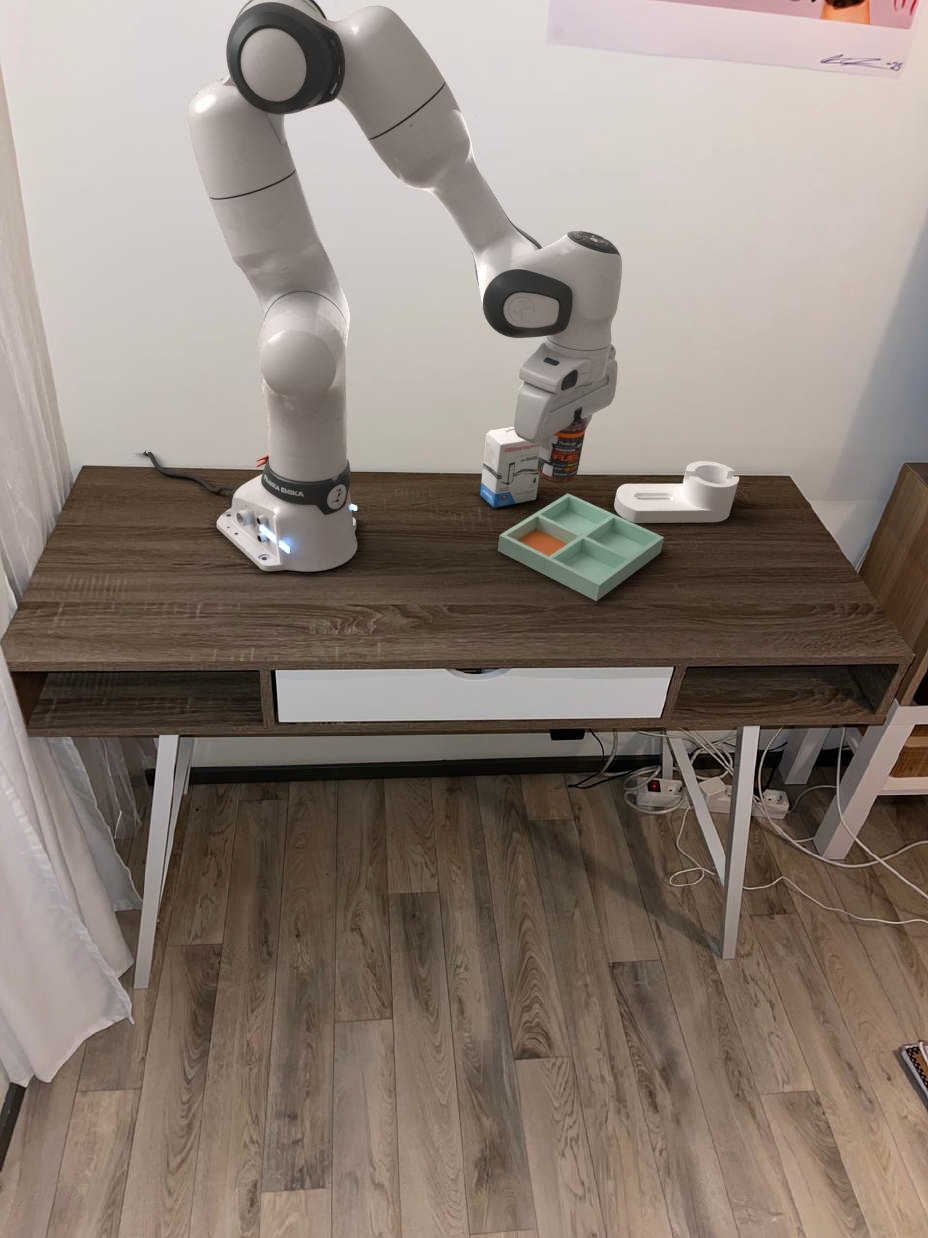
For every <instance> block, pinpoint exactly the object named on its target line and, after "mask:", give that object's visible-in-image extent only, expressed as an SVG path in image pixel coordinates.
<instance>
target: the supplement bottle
mask: <svg viewBox="0 0 928 1238" xmlns="http://www.w3.org/2000/svg"><path fill="white" fill-rule="evenodd" d="M581 414H582V407H580V408H578V409H576V410H575V412H574V420H573V422H572V423H571V424H570V425H569V426H568V427H567V428H565V429H563V430H561V431H559V432H557V433H555V434H554V438H553V439H552V440H551V443H552V446H555V447H556V448H555V452H554V454H555V455H554V457H552V458H550V459H549V460H544V459H542V458H540V457H539V459H538V467H537V471H538V474H539V477H541V478H543V479H544V480H545V481H547V482H551V483H556V484H566V483H570V482H572V481H574V480H575V479H576V478H577V476H578V472H579V467H580V465H581V464H580V461H581V455H582V451H583V446H584V441H585V433H586V430H587V428H586V422H585V420H584V419H582V418H581ZM585 429H586V430H585Z"/></svg>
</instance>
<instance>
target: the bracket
mask: <svg viewBox="0 0 928 1238" xmlns="http://www.w3.org/2000/svg"><path fill="white" fill-rule="evenodd" d="M735 473H736V470H734V469H733V468H732V467H730V466H728V465H725V464H723V463H719V462H715V461H710V460H699V461H693V462H691V463H689V464H688V465H687V466H686V468H685V472H684V476H683V480H682V483H624V484H622V485H620V486H619V487H618V488H617V490H616V492H615V498H614V503H613V508H614V510H615V511H616V513H617V514H618V515H619V517H621V518H623V519H625V520H627V521H629V522H631V523H634V524H661V523H663V524H668V523H669V524H670V523H672V524H673V523H674V524H676V523H677V524H678V523H681V524H682V523H683V524H684V523H719V522H723V521H725V520H727V519H728V518H729V516H730V514H731V509H732V506H733V502H734V499H735V496H736V492H737V488H738V484H739V481H740V476H739V475H738V476H735Z"/></svg>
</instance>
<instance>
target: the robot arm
mask: <svg viewBox="0 0 928 1238" xmlns="http://www.w3.org/2000/svg"><path fill="white" fill-rule="evenodd" d="M225 56H226V57H225V58H226V65H227V69H228V74H227V75H226V76H225V77H223V78H221V79H218V80H215V81H213V82H210V83H208V84H206V85H205V86H203V87H202V88H201V89H200V90H199V91H198V92H196V94H195V95H194V96H193V97H192V99H191V100H190V102H189V105H188V108H187V123H188V129H189V134H190V139H191V143H192V147H193V152H194V156H195V159H196V163H197V167H198V170H199V173H200V176H201V179H202V183H203V185H204V188H205V191H206V193H207V196H208V199H209V202H210V204H211V206H212V209H213V212H214V214H215V217H216V220H217V223H218V225H219V227H220V230H221V233H222V235H223V238H224V241H225V244H226V246H227V248H228V251H229V253H230V256H231V259H232V260H233V262H234V263H235V265H236V266H237V267H239V268H240V269H241V271H242V273H243V274H244V276H245V277H246V279H247V281H248V283H249V284H250V286H251V288H252V289H253V292H254V293H255V295H256V297H257V299H258V301H259V304H260V306H261V307H260V308H261V310H262V317H263V322H262V323H263V324H262V327H261V330H260V332H259V335H258V339H257V356H258V365H259V373H260V381H261V387H262V394H263V399H264V404H265V405H264V406H265V412H266V425H267V427H266V428H267V445H268V446H267V447H268V454H267V455H265V456H263V457H260V458H258V459H256V460H255V462H257V464H256V465H255V466H256V468H259V467H261V466H264V468H263V471H262V473H261V474H259V475H257V476H256V477H254V478H252V479H250V480H249V481H246V482H245V483H243V484H242V485H240V486H239V487H234V486H231V485H220V486H219V487H217V488H214V487H213V486H211V485H210V484H209V483H208V482H206V481H205V480H204V479H203V478H201V477H200V476H197V475H194V474H191V473H185V472H177V471H171V470H167V469H164V468H163V467H161V465H159V463H158V461H157V459H156V458H155V455H154V454H153V452H152V451H151V452H148V454H147V453H146V451H147V450H145V451H144V452H143V453H142V455H143V456H148V457H149V460H150V461H151V463H152V465H153V467H154V468H155V469H157V471H158V472H159V473H161V474H163V475H166V476H170V477H175V478H182V479H183V478H184V479H189V480H193V481H195V482H198V483H199V484H201V485H202V486H203V487H205V488H206V489H207V490H208V491H209V492H211V493H214V494H220V493H222V492H223V491H228V501H229V507H230V508H229V509H226V511H224V512H223V513H221V514H220V516H219V517H218V518H217V520H216V528H217V530H218V531H219V532H220V533H221V534H222V535H224V536H225V537H226V538H227V539H228V540H229V541H230V542H231V543H232V544H233V545H235V547H236V548H238V549H239V550H240V551H241V552H242V553H243V554H244V555H245V556H246V557H247V558H248V559H250V560H251V562H253V564H255V566H257V567H258V568H259V569H260V570H262V571H263V572H279V571H295V572H306V573H307V572H310V573H311V572H321V571H327V570H331V569H334V568H336V567H339V566H342V565H343V564H345V563H347V562H348V561H350V560H351V559H352V558H353V557H354V556H355V554H356V552H357V549H358V540H357V537H356V536H357V535H356V530H357V520H356V518H355V517H353V516H354V515H353V511H356V512H357V510H358V506H357V505H355V504H353V503H352V497H351V489H350V487H351V474H352V473H351V465H350V464H351V463H350V460H349V459H348V407H347V406H348V405H347V386H346V385H347V383H346V382H347V380H346V379H347V377H346V373H347V372H346V362H347V360H346V358H347V350H348V349H347V348H348V338H349V330H350V322H351V311H350V307H349V304H348V300H347V298H346V295H345V293H344V291H343V288H342V286H341V283H340V280H339V278H338V276H337V274H336V271H335V269H334V266H333V264H332V262H331V260H330V257H329V256H328V253H327V251H326V249H325V247H324V245H323V243H322V240H321V238H320V236H319V234H318V231H317V228H316V226H315V223H314V222H315V221H314V219H313V217H312V216H313V215H312V212H311V210H310V208H309V204H308V201H307V198H306V195H305V192H304V189H303V186H302V183H301V180H300V179H301V178H300V176H299V173H298V171H297V168H296V165H295V162H294V158H293V156H292V153H291V150H290V146H289V143H288V140H287V136H286V135H287V134H286V130H285V116H286V115H293V114H296V113H300V112H303V111H306V110H308V109H312V108H315V107H318V106H321V105H324V104H325V105H326V104H328V103H331V102H333V101H335V100H338V101H339V102H340V103H341V104H342V105H344V107H345V108H346V109H347V110H348V112H349V113H350V114H351V116H352V117H353V119H354V120H355V122H356V123H357V125H358V126H359V128H360V130H361V131H362V133H363V135H364V137H365V138H366V139H367V141H368V142H369V144H370V145H371V147H372V149H373V150H374V151H375V153H376V154H377V155H378V157H379V158H380V160H381V161H382V162H383V164H384V165H385V166H386V167H387V168H388V169H389V171H390V172H391V173H392V174H393V175H394V176H395V177H396V178H397V179H398V180H399V182H401V183H402V184H403V185H405V186H406V187H408V188H411V189H416V190H422V191H425V192H427V193H429V194H431V196H433V197H434V198H435V199H436V200H437V201H438V202H439V203H440V204H441V205H442V207H443V209H444V210H445V212H446V213H447V215H448V216H449V218H450V219H451V220H452V222H453V224H454V225H455V228H457V230H458V231H459V233H460V235H461V236H462V238H463V240H464V241H465V243H467V245H468V247H469V248H470V251H471V254H472V256H473V263H474V271H475V272H474V273H475V276H476V281H477V285H478V287H479V294H480V301H481V305H482V312H483V315H484V317H485V319H486V321H487V323H488V324H489V326H490V327H491V328H492V329H493V330H494V331H495V332H496V333H498V334H500V335H502V336H504V337H507V338H512V339H530V338H531V339H532V338H540V337H541V338H542V337H544V341H543V342H542V343H541V344H540V345H539V347H538V348H537V349H536V350H535V351H534V352H533V354H531V355H530V356H529V357H528V358H527V359H526V360H525V361H524V362H523V363H522V364H521V365H520V366H519V367H520V368H519V371H518V378H519V379H520V380H521V381H523V382H522V384H521V385H520V386H519V389H518V393H517V395H516V403H515V409H514V420H513V427H514V430H515V433H516V434H517V436H518V437H520V438H522V439H524V440H526V441H528V442H531V443H534V444H536V443H538V444H539V446H540V447H539V454H538V455H539V457H540V458H542V459H544V460H549V459H550V458H552V457H554V455H555V454H554V452H555V448H556V447H555V446H552V443H551V440H552V439H553V438H554V434H555V433H557V432H559V431H561V430H563V429H565V428H567V427H568V426H569V425H570V424H571V423H572V422H573V420H574V412H575V410H576V409H578V408H580V407H582V414H581V418H582V419H584V420H585V422H586V429H585V431H586V430H587V428H588V426H589V425H590V422H591V421H592V418H593V415H594V414H595V413H597V412H599V411H601V410H603V409H605V408H607V407H610V405H611V404H612V403H613V401H614V399H615V397H616V390H617V383H618V372H619V371H618V370H619V367H618V361H617V360H616V355H617V349H616V348H615V346H614V345H613V344H612V337H613V336H612V322H613V320H614V318H615V316H616V314H617V312H618V306H619V299H620V295H621V287H622V276H623V261H622V260H623V259H622V255H621V253H620V252H619V251H620V250H618V248H617V246H616V245H615V244H614V243H612V241H610V240H609V239H607V238H604V237H603V236H601V235H599V234H596V233H592V232H589V231H584V230H572V231H569V232H567V233H565V235H563V236H562V237H561V238H560V239H558V240H556V241H554V242H553V243H551V244H549V245H547V246H544V247H543V246H542V245H541V244H540V243H539V241H537V240H536V239H535V238H534V237H533V236H531V235H529V233H527V232H525V231H524V230H522V229H521V228H519V226H518V225H517V226H516V225H515V224H514V223H513V222H512V221H511V219H510V218H509V217H508V215H507V214H506V212H505V210H504V209H503V207H502V206H501V204H500V203H499V201H498V199H497V197H496V196H495V194H494V192H493V191H492V189H491V188H490V185H489V184H488V182H487V180H486V179H485V177H484V176H483V174H482V173H481V171H480V169H479V165H478V163H477V161H476V157H475V153H474V149H473V142H472V138H471V136H470V132H469V128H468V126H467V123H466V121H465V118H464V115H463V114H462V111H461V108H460V106H459V104H458V102H457V100H456V98H455V96H454V93H453V92H452V89H451V88H450V86H449V85H448V83H447V81H446V80H445V78H444V76H443V75H442V73H441V71H440V70H439V68H438V66H437V65H436V63H435V62H434V60H433V59H432V57H431V56H430V54H429V53H428V51H427V50H426V49H425V47H424V46H423V44H422V43H421V42H420V40H419V38H418V37H417V36H416V35H415V34H414V33H413V31H412V30H411V29H410V28H409V26H408V25H407V24H406V23H405V22H404V20H402V18H401V17H400V15H398V14H397V13H396V12H395V11H394V10H393V9H391V8H389V7H387V6H384V5H370V6H365V7H362V8H360V9H357V10H356V11H353V12H351V14H349V15H347V17H345V18H344V19H340V20H337V21H336V20H335V21H333V20H330V19H327V16H326V14H325V13H324V11H323V9H322V8H321V7H320V5H319V4H318V3H317V2H316V1H315V0H248V1H247V2H246V3H245V4H244V5H243V6H242V8H241V9H240V10H239V12H238V14H237V16H236V18H235V21H234V22H233V25H232V26H231V28H230V31H229V33H228V36H227V41H226V47H225Z"/></svg>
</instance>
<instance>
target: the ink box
mask: <svg viewBox="0 0 928 1238" xmlns="http://www.w3.org/2000/svg"><path fill="white" fill-rule="evenodd" d="M485 433H486V434H485V442H484V451H483V462H482V463H483V464H482V472H481V483H480V494H479V495H480V497H482V498H483V499H484V500H485V501H486V502H487V503H488V504H489V505H490V506H491V507H493V508H494V509H496V508H500V507H501V508H502V507H505V506H512V505H515V504H520V503H525V502H530V501H535V500H536V499H537V494H538V488H539V487H538V486H539V482H540V475H539V474H538V471H537V467H538V459H539V455H538V454H539V447H540V446H539V444H538V443H536V444H534V443H531V442H528V441H526V440H524V439H522V438H520V437H518V436H517V434H516V433H515V430H514V426H510V427H505V428H504V427H503V428H498V429H497V428H496V429H491V430H489V431H488V432H485Z"/></svg>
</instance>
